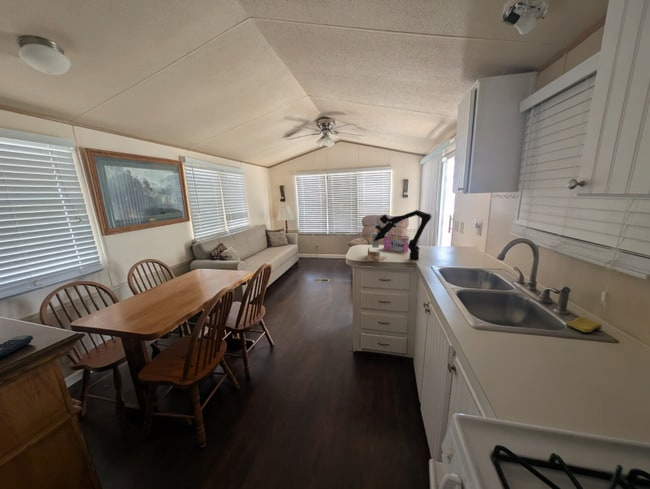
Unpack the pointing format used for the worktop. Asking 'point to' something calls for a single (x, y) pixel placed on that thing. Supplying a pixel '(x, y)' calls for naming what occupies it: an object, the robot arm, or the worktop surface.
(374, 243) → the slate block
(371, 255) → the kraft carton
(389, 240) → the gum box
